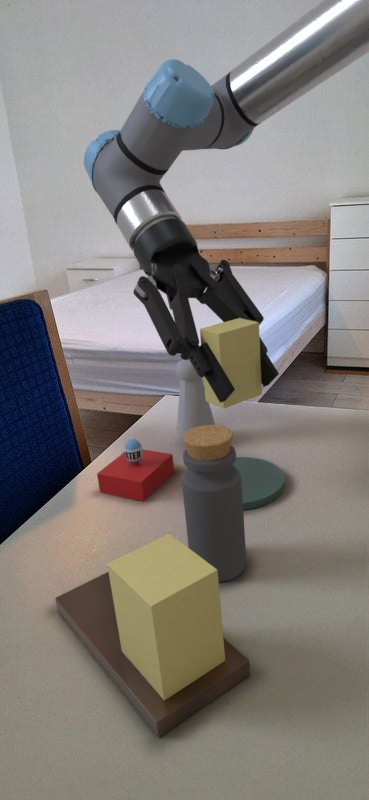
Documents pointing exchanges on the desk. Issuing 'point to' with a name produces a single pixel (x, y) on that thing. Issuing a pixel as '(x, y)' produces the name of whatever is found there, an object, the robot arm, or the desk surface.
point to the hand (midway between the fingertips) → (249, 387)
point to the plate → (259, 481)
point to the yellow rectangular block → (235, 358)
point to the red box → (135, 472)
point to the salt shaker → (191, 400)
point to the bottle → (214, 500)
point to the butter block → (168, 613)
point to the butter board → (99, 632)
